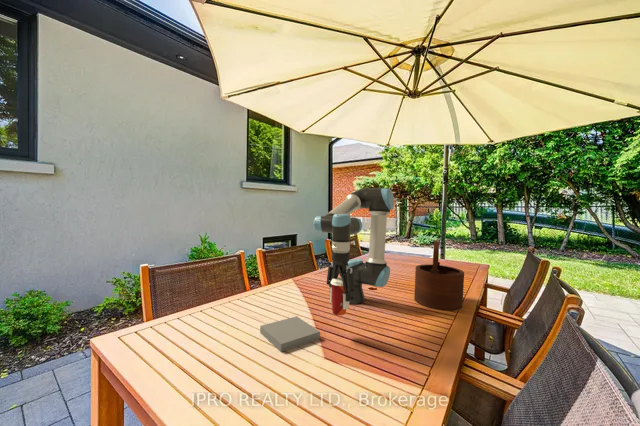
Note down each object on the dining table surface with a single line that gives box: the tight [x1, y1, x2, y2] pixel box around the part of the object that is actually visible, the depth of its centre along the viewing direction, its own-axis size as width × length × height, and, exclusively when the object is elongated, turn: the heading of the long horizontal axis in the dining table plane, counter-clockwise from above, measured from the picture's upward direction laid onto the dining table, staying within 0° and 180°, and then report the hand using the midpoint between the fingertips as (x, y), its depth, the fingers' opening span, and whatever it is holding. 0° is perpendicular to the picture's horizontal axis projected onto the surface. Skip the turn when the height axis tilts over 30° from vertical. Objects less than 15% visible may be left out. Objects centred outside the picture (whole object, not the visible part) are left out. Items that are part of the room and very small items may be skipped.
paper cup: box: [331, 277, 347, 316], centre depth 115 cm, size 8×8×14 cm
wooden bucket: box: [413, 241, 465, 312], centre depth 159 cm, size 26×26×35 cm
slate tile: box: [259, 316, 321, 353], centre depth 114 cm, size 18×18×3 cm
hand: (339, 305), depth 115 cm, fingers closed on paper cup, 8 cm apart
